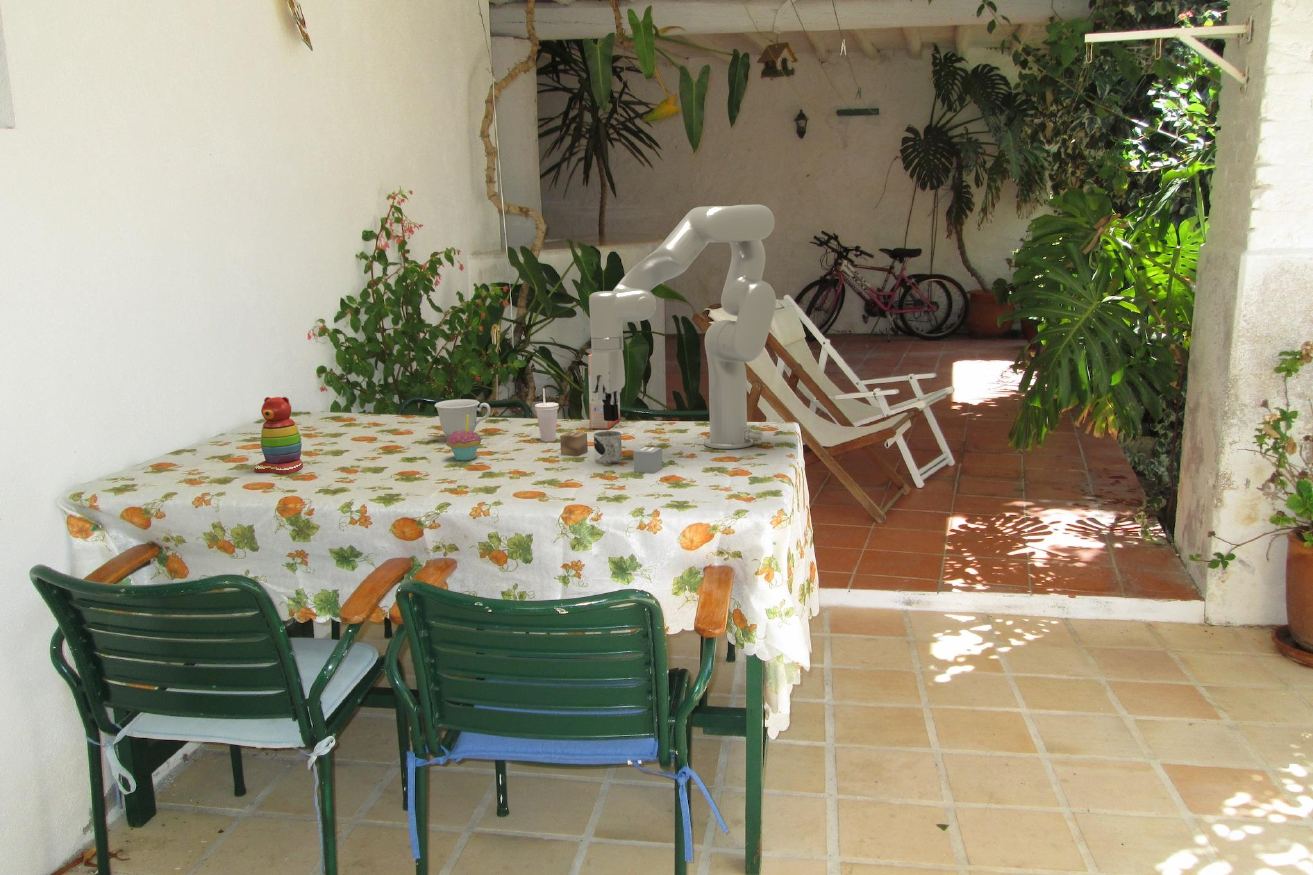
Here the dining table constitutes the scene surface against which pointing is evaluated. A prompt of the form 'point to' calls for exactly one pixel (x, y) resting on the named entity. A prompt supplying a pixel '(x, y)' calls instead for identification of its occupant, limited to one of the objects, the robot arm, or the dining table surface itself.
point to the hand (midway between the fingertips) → (611, 420)
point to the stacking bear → (279, 437)
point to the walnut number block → (573, 443)
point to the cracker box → (598, 407)
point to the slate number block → (647, 459)
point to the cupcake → (464, 443)
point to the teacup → (459, 414)
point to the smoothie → (547, 419)
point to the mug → (607, 447)
